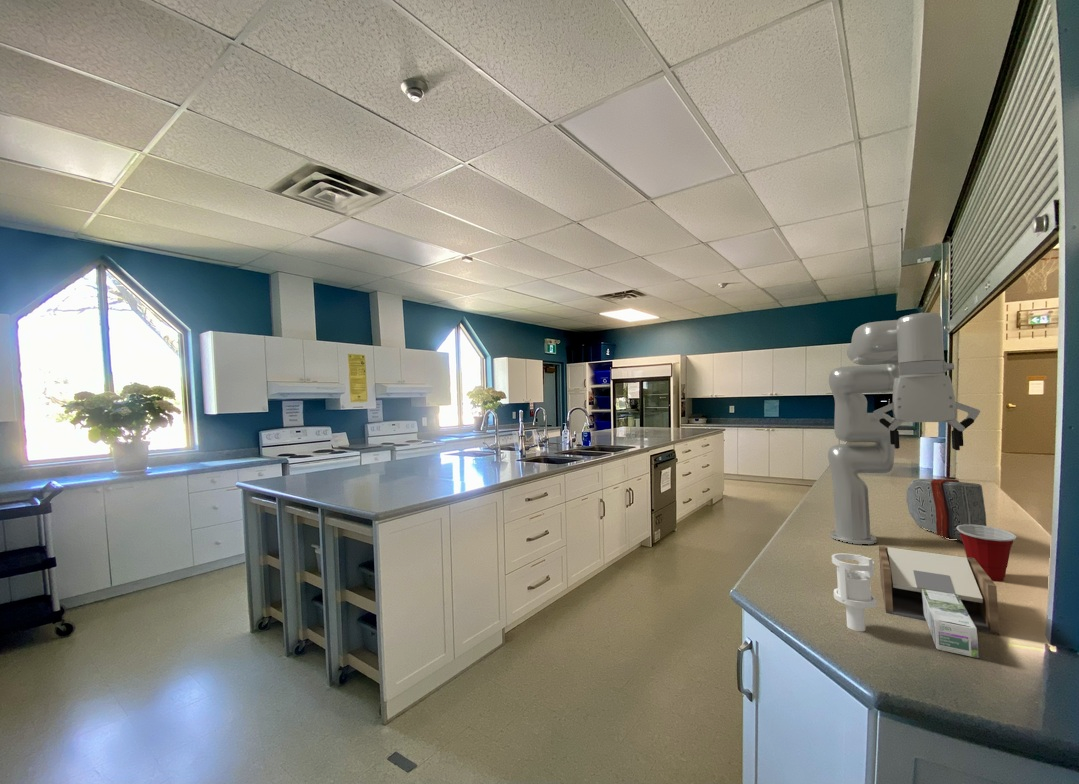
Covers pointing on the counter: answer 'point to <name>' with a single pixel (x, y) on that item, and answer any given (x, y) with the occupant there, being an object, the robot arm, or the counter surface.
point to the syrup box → (950, 623)
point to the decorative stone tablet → (945, 505)
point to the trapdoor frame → (980, 613)
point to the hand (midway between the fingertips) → (925, 448)
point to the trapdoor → (933, 573)
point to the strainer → (854, 588)
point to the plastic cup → (988, 548)
